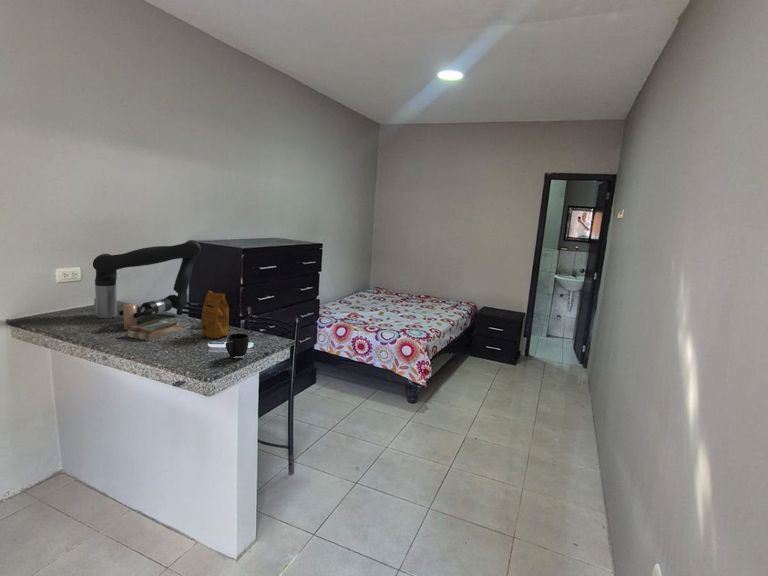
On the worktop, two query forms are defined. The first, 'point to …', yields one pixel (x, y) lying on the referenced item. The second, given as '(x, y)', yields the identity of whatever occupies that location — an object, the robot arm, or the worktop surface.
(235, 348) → the mug
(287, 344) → the worktop surface
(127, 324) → the canister
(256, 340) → the worktop surface
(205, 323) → the coffee package
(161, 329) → the wooden tray
